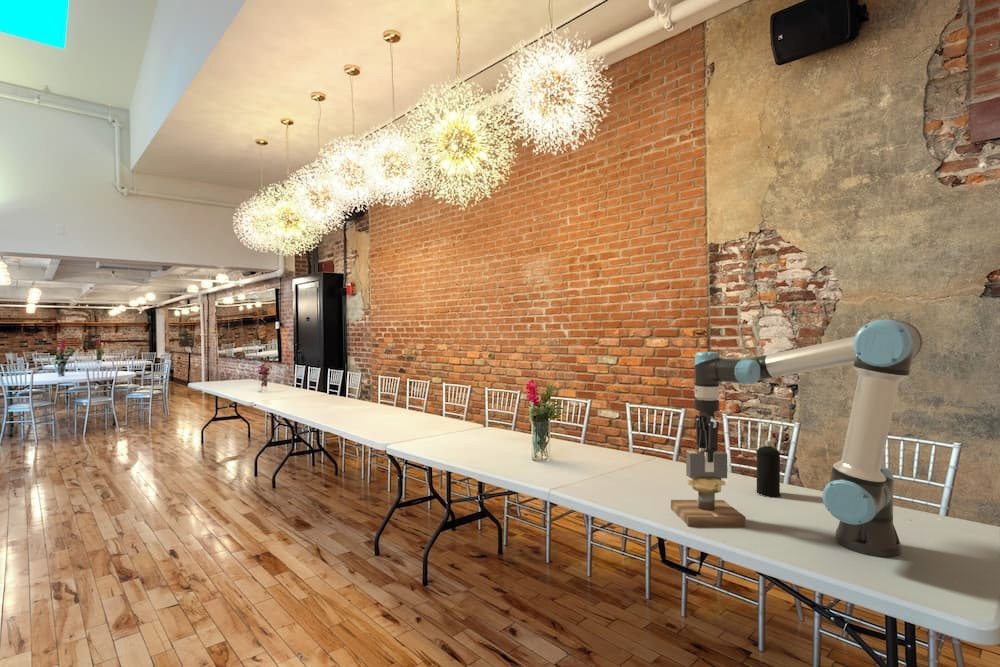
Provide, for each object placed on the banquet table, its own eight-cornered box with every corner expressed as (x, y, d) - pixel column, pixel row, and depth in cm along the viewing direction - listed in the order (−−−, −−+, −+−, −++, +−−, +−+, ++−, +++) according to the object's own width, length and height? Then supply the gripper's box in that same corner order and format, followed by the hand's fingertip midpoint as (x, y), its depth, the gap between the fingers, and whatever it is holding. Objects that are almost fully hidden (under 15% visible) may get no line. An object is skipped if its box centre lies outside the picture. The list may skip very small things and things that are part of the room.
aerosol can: (779, 498, 185) (780, 444, 185) (754, 495, 190) (754, 441, 189) (781, 492, 192) (781, 440, 192) (756, 489, 197) (757, 437, 196)
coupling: (730, 493, 162) (731, 455, 162) (693, 493, 162) (693, 455, 162) (718, 484, 171) (718, 448, 171) (683, 484, 171) (683, 448, 171)
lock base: (745, 526, 159) (745, 497, 159) (688, 526, 159) (688, 497, 159) (723, 508, 175) (723, 482, 175) (670, 508, 175) (670, 482, 175)
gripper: (686, 395, 175) (685, 463, 175) (705, 402, 158) (705, 477, 158) (707, 395, 175) (707, 463, 175) (729, 402, 158) (729, 477, 158)
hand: (706, 469), depth 167 cm, fingers closed on coupling, 4 cm apart
